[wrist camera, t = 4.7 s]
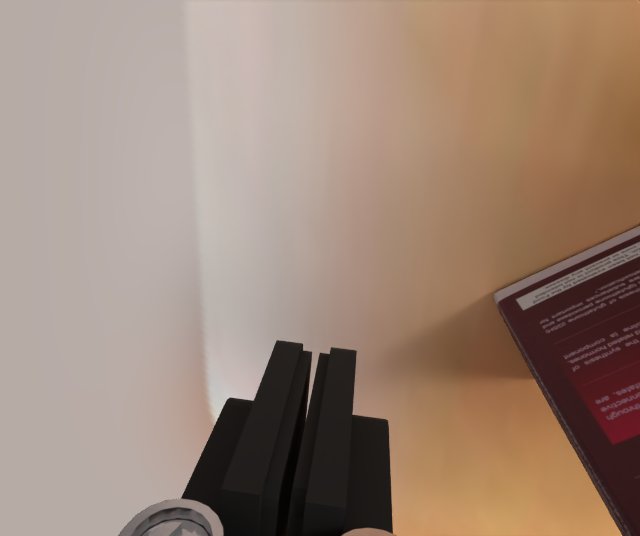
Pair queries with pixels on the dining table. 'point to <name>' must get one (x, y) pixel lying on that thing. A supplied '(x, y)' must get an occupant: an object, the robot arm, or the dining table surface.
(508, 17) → the dining table surface
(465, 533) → the dining table surface
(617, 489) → the supplement box
